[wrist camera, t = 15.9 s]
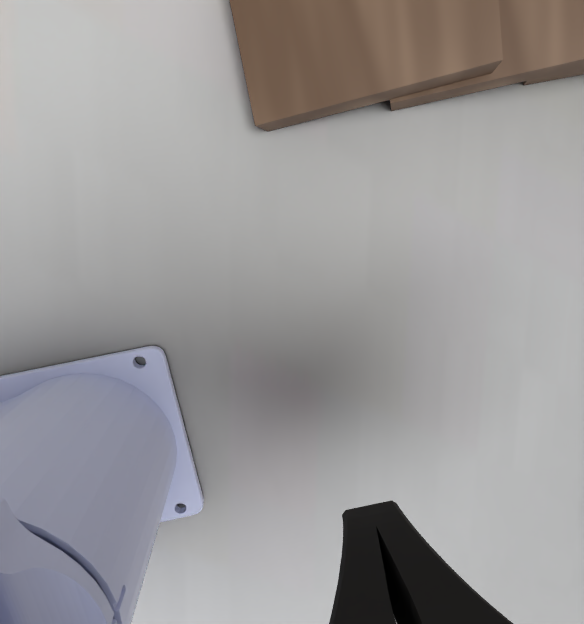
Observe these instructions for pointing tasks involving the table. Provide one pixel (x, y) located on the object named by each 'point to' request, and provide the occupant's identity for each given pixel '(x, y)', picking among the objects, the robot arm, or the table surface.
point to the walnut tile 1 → (358, 52)
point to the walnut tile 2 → (522, 48)
